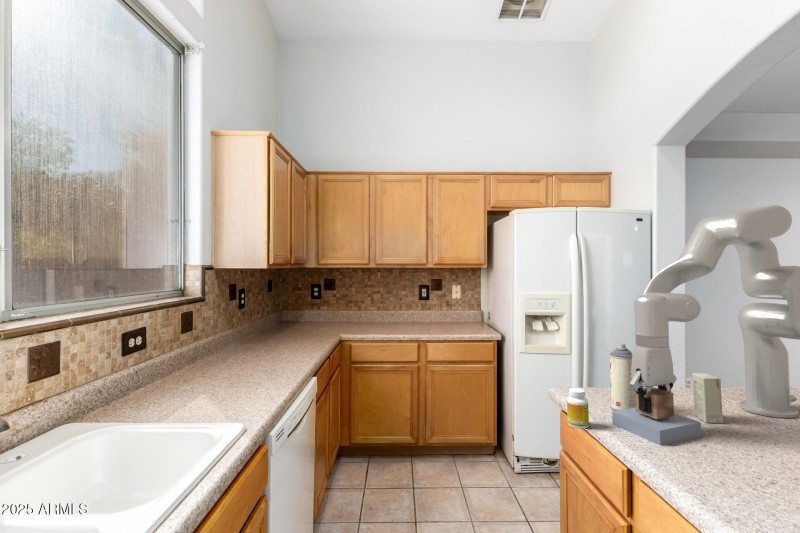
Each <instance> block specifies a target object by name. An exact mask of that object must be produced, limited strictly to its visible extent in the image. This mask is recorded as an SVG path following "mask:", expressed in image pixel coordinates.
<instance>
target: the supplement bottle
mask: <svg viewBox="0 0 800 533" xmlns="http://www.w3.org/2000/svg"><path fill="white" fill-rule="evenodd" d="M568 391H569V392H568V393H569V396H568V397H567V398H566V412H567V415H566V416H567V417H566V418H567V425H569V426H570V427H572V428H575V429H581V430H582V429H587V428H589V426H590V418H589V417H590V415H589V400H588V399H587V398H586V390H584V389H582V388H579V387H572V388H569V389H568Z"/></svg>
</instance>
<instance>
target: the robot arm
mask: <svg viewBox="0 0 800 533" xmlns="http://www.w3.org/2000/svg"><path fill="white" fill-rule="evenodd" d="M790 212H791V211H789V210H788V209H787V208H786V207H784V206H781V205H778V204H777V205H776V204H775V205H765V206H760V207H759V206H757V207H751V208H743V209H742V208H741V209H736V210H731V211H727V212H723V213H721V214H717V215H712V216H708V217H704V218H703V219H701V220H699V222H697V224H696V225H695V227H694V229H693V231H692V233H691V235H690V237H689V238H688V240H687V242H686V244H685V246H684V248H683V249H682V251H681V254H680V255H679V257H678V258H677V259H675V260H674V261H672V262H671V263H669V264H668V265H667V266H665V267H664V268H662V269H661V270H660V271H659V272H657V273H656V274H655V275H654V276H653V277H652V278H651V279H650V281H649V282H648V284H647V285H646V287H645V289H644V291H643V293H642V294H641V295H638V296H637V295H636V297H635V298H634V300H633V301H634V303H633V304H634V329H635V330H634V332H635V333H634V334H635V346H634V347H633V349H632V364H631V379H632V380H631V382H630V386H631V387H632V388H633V389H634V391H635V392H636V394H637V395H638V398H639V410H641V411H644V412H646V413H651V398H649V394H650V390H651V387H656V388H658V389H662V390H665V391H668V392H672V389H673V387H674V384H675V383H676V381H677V379H678V378H677V377H676V375H675V374H674V364H673V356H672V352H671V348H670V332H669V330H670V328H669V322H675V323H676V322H678V323H688V322H692V321H694V320H695V319H696V318H698V317H699V316H700V313H701V309H702V306H701V304H700V302H699V301H698V299H696V298H695V297H694V296H691V295H690V294H686V293H673V292H672V291H674V290H675V289H676V288H678V287H679V286H681V285H683V284H686V283H688V282H690V281H694V280H697V279H699V278H702V277H705V276H707V275H709V274H711V273H712V272H714V270H715V269H716V268H717V265H718V263H719V261H720V259H721V257H722V255H723V254H724V251H725V249H726V248H727V247H728V246H730V245H732V246H733V247H734V248H735V249H736V252H737V255H738V258H739V269H740V279H741V280H740V281H741V287H742V291H743V293H744V294H745V295H746V296H748V297H750V298H755V299H765V300H766V299H767V300H778V301H779V300H782V301H784V300H785V301H786V303H787V304H786V303H785V304H783V303H776V302H775V303H771V302H770V303H769V302H751V303H748V304H745V305H744V306H742V307H741V308H740V309H739V311H738V313H737V314H738V315H737V316H738V317H737V318H738V323H739V326H740V330H741V335H742V339H743V340H742V341H743V353H744V354H743V356H744V358H743V359H744V360H743V362H744V383H745V384H744V385H745V387H744V388H745V399H743V400H740V401H739V402H738V403H739V405H738V406H739V407H740V408H741V409H743V410H745V411H746V412H750V413H753V414H757V415H761V416H765V417H769V418H770V417H771V418H779V419H793V418H796V417H798V416H799V411H798V410H797V409H796V408H794V407H792V406H791V403H793V402H796V401H797V400H798V398H797V396H796V395H794V394H791V393H790V391H791V390H790V367H789V366H790V364H789V352H788V349H787V348H786V346H785V345H786V344H784V343H783V341H782V340H781V339H789V340H796V341H797V340H798V341H800V265H781V264H780V261H779V260H780V259H779V254H778V253H779V252H778V248H777V246H776V245H775V243H774V241H772V240H771V239H774V238H777V237H781V236H782V235H784V234H786V233H787V232H788V231H789V230H790V229H791V226H792V225H793V224H792V222H793V218H792V214H791V213H790ZM643 388H645V391H644V390H643Z"/></svg>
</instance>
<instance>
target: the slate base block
mask: <svg viewBox="0 0 800 533" xmlns="http://www.w3.org/2000/svg"><path fill="white" fill-rule="evenodd" d="M611 414H612V415H611V418H612V420H611V421H612V425H613V426H616V427H617V428H619V429H623V430H625V431H626V432H629V433H631V434H634V435H636V436H638V437H640V438H643V439H645V440H647V441H649V442H652V443H654V444H657V445H658V446H664V445H667V444H668V445H669V444H672V443H677V442H682V441H688V440H690V439H691V438H692V439H695V438H699V437H700V436H701V437H702V423H701V421H698V420H695V419H692V418H689V417H687V416H684V415H681V414H677V413H675V412H674V416H672V417H667V418H662V419H655V418H652V417H649V416H647V415H644V414H641V413H639V412H636V407H635V408H629V409H624V410H618V411H613V410H612V411H611ZM692 439H691V440H692Z"/></svg>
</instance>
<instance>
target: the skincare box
mask: <svg viewBox="0 0 800 533" xmlns="http://www.w3.org/2000/svg"><path fill="white" fill-rule="evenodd" d="M691 376H692V393H693V395H692V396H693V415H694V416H695V417H696V416H697V418H698V419H699V420H701V421H703V422H704V423H711V424H712V423H714V424H723V423H724V418H723V417H724V416H723V403H722V402H723V401H722V400H723V399H722V386H721V384H722V383H721V382H722V381H721V378H720V377H717V376H715V375H712V374H711V373H705V372H704V373H698V372H697V373H696V372H694V373H693V372H692V375H691Z"/></svg>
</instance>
